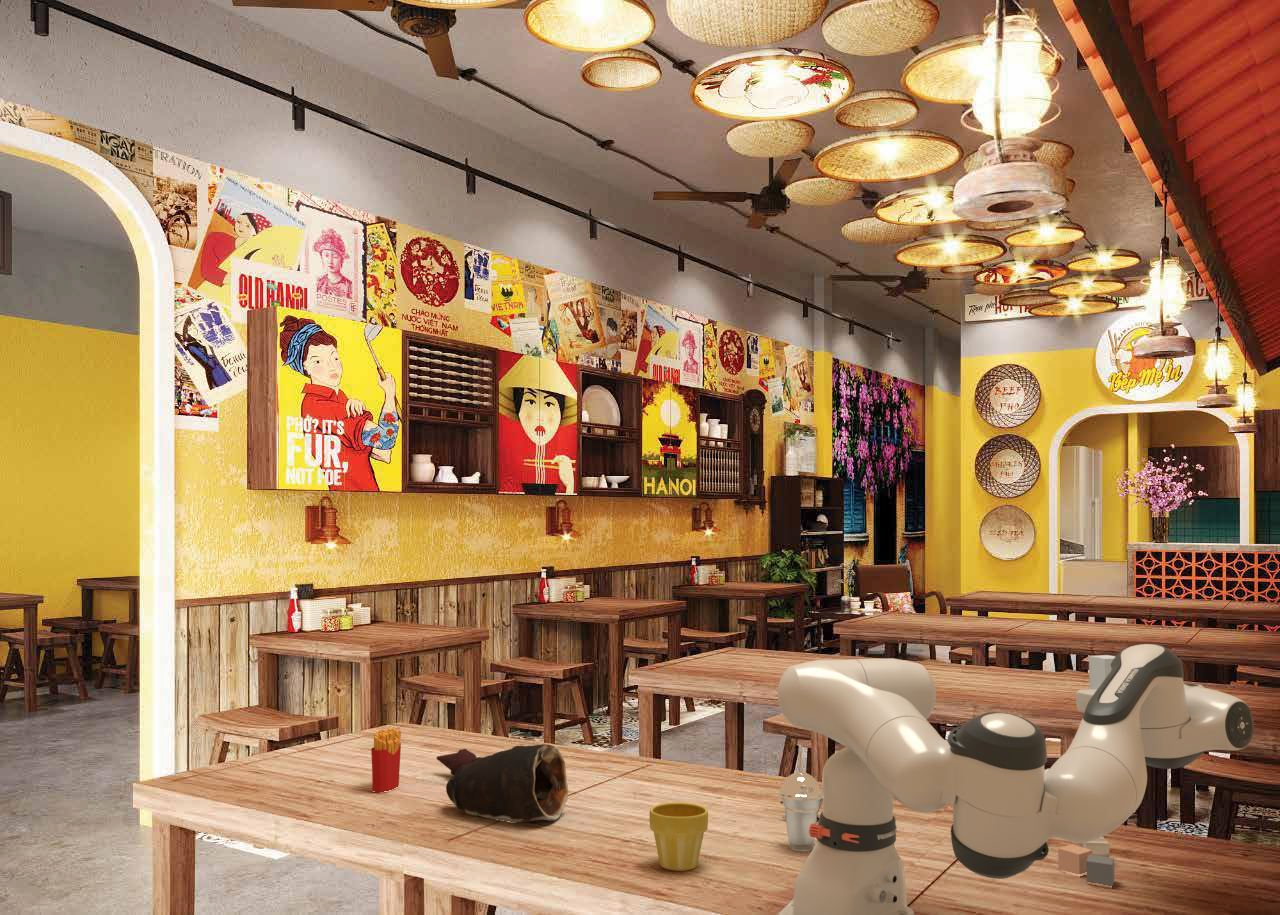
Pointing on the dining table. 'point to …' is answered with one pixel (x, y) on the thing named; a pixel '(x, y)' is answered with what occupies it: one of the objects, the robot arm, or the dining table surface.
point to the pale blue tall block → (1099, 669)
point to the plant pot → (678, 833)
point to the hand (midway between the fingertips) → (1103, 693)
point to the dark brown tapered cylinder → (513, 785)
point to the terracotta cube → (1073, 858)
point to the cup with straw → (800, 806)
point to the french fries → (386, 760)
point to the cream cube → (1097, 847)
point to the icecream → (457, 760)
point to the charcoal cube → (1100, 870)
